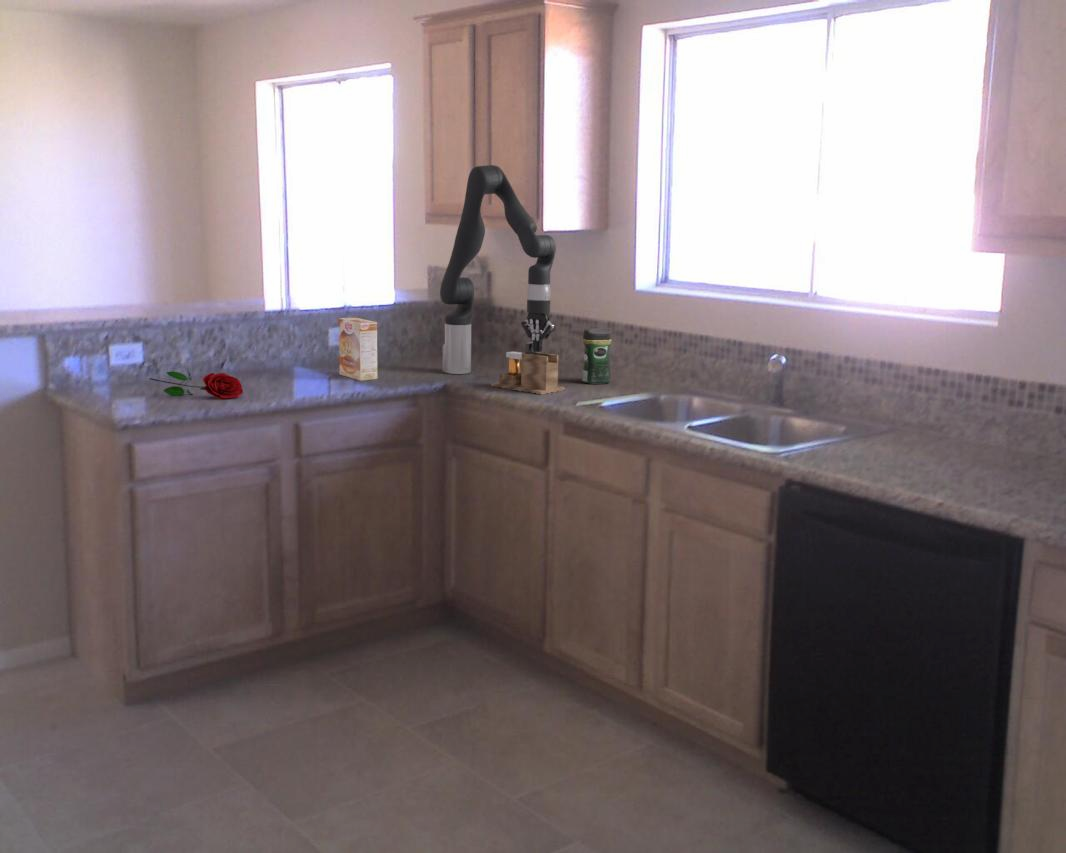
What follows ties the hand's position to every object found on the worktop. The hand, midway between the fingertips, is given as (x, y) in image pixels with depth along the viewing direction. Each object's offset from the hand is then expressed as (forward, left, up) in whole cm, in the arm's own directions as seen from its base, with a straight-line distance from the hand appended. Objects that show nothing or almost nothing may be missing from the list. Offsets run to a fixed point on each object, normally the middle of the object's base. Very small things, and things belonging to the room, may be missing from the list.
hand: (537, 351), depth 366 cm
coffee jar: (+4, +26, -13) cm, 29 cm away
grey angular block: (-6, 0, -3) cm, 7 cm away
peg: (-10, 0, -11) cm, 15 cm away
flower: (-63, -87, -13) cm, 108 cm away
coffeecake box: (-58, -26, -13) cm, 64 cm away
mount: (-4, 0, -12) cm, 13 cm away
